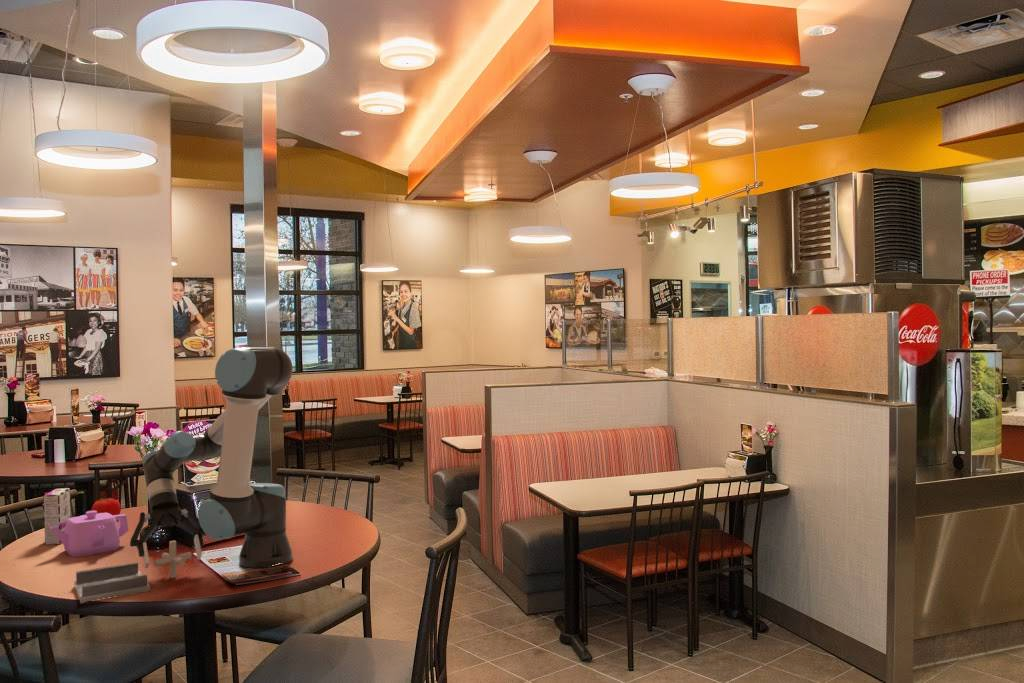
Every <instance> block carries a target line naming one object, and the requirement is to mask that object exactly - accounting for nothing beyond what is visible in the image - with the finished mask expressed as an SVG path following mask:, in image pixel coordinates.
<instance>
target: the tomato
mask: <svg viewBox="0 0 1024 683" xmlns="http://www.w3.org/2000/svg"><path fill="white" fill-rule="evenodd" d="M121 506H122V505H121V503H120V501H119V500H118V499H115V498H113V497H112V496H111V497H109V498H106V497H104V498H100V499H98V500H96V501H95V502H94V504H92V506H91V510H90V511H97V514H98V513H109V514H111V515H121V510H122V507H121Z"/></svg>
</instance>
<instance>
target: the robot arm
mask: <svg viewBox="0 0 1024 683" xmlns="http://www.w3.org/2000/svg"><path fill="white" fill-rule="evenodd" d="M293 370H294V367H293V362H292V360H291V358H290V356H289V355H288V354H287V353H286V352H285V351H284V350H283V349H281V348H279V347H275V346H266V347H263V346H259V347H258V346H256V347H254V346H252V347H251V346H250V347H248V346H247V347H245V346H242V347H237V348H231V349H228V350H226V351H225V352H224V353H222V354H221V355H220V357H219V358H218V360H217V362H216V365H215V368H214V378H215V380H216V384H217V385H218V387H219V388H220V389H222V391H221V395H222V396H223V397H224V399H225V400H226V405H225V409H224V410H223V412H222V413H221V414H220V415H219V416H218V417H217V418H216V419H215V420H214V422H212V424H211V425H210V426H209V427H208V428H207V429H206V430H205V431H204V432H203V433H201V434H194V435H192V434H191V433H190V432H186V431H183V430H177V431H175V432H173V433H172V434H170V436H169V437H168V438H167V439H166V440H165V442H164V443H163V444H162V445H161V447H160V448H159V449H155V450H152V451H150V452H148V453H146V454H145V455H144V456H143V458H142V471H143V474H144V480H145V485H146V491H147V498H148V503H149V510H150V513H145V512H142V511H141V512H140V513H139V518H138V520H139V521H138V522H137V525H136V527H135V529H134V532H133V534H132V536H131V538H130V542H129V547H136V549H137V551H138V556H139V558H143V562H144V563H143V564H144V568H145V569H149V565H150V559H149V552H148V547H147V541H148V540H149V538H150V537H151V536H152V535H153V533H154V532H155V531H157V529H158V528H159V527H160V528H165V527H173V526H176V527H178V528H181V529H182V530H183V531H185V532H187V533H188V534H189V535H191V536H192V537H193V538H194V539H193V543H194V548H195V553H196V558H197V559H196V560H201V559H202V555H203V553H202V549H201V548H203V546H204V538H203V537H205V536H208V537H209V538H210V539H213V540H215V541H216V540H217V541H220V540H225V539H232V538H233V537H236V536H239V535H243V534H245V535H244V540H243V543H242V546H241V548H240V551H239V555H238V559H239V561H238V562H239V563H238V564H239V565H240V566H241V567H244V568H248V567H250V568H251V569H260V568H259V567H266V568H270V567H269V566H272V565H275V564H278V563H285V564H287V563H290V562H291V561H292V560H293V549H292V546H291V543H290V541H289V538H288V535H287V504H286V502H287V497H286V489H285V487H284V485H282V484H278V483H269V482H251V481H250V479H251V473H252V472H251V470H252V463H253V456H254V448H255V440H256V433H257V432H256V431H257V425H258V424H257V422H258V415H259V410H261V409H262V408H263V406H265V404H266V403H267V402H269V400H270V399H271V398H272V397H276V396H278V395H279V394H280V393H281V392H282V391H283V390H284V389H285V388H286V387H287V385H288V384H289V383H290V380H291V379H292V376H293ZM217 457H219V462H218V470H217V471H218V472H217V480H216V483H215V484H213V485H212V486H211V487H210V490H209V497H208V498H209V499H205V500H204V501H202V503H201V504H199V507H198V510H197V511H198V512H197V515H196V514H195V513H194V512H193V509H192V507H191V506H187V507H186V508H184V509H181V508H180V506H179V501H178V496H177V489H176V486H175V480H174V473H175V471H177V470H178V469H179V467H180V466H181V465H182V464H183V463H189V462H194V461H198V460H204V459H205V460H206V459H209V458H210V459H211V458H217ZM250 482H251V483H250ZM182 515H183V516H184V517H185V518H187V520H188V521H187V520H186V519H184V517H183V516H182ZM148 520H150V521H151V522H152V523H151V524H150V525H149V527H148V528H147V529H146V530H145V531H144V532H143V534H142V535H141V537H140V534H141V531H142V529H143V527H144V525H145V523H146V522H148Z"/></svg>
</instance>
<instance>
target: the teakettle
mask: <svg viewBox="0 0 1024 683" xmlns="http://www.w3.org/2000/svg"><path fill="white" fill-rule="evenodd" d="M127 517H128V516H127V515H126V513H125V514H123V513H122V514H119V515H111V514H109V513H98V514H97V511H91V510H87V511H86V512H85V514H83V515H80V516H79V515H78V516H71V518H68V519H67V523H66V527H65V533H63V532H62V531H61V530H60V529H59V528H57V526H54V527H51V528H50V529H51V530H52V532H53V533H54V534H55V535H56V536H57V538H58V539H59V540H60V541H61V544H62V545H63V547H64V550H65V553H66V554H68V556H70V557H71V558H79V557H87V556H93V555H99V554H104V553H108V552H114V551H117V550H119V547H120V542H121V540H120V538H121V537H122V536H125V535H126V533H128V532H129V526H128V525H129V524H128V518H127ZM117 521H119V526H118V523H117Z"/></svg>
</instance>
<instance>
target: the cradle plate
mask: <svg viewBox="0 0 1024 683" xmlns="http://www.w3.org/2000/svg"><path fill="white" fill-rule="evenodd" d="M75 576H76V577H75V580H74V581H73V587H75V588H74V591H75V590H76V591H75V593H76V592H77V593H76V595H78V596H77V598H78V597H79V598H78V600H79V599H80V601H79V603H80V604H86V603H88V602H87V601H92V600H97V599H103V598H108V597H114V596H119V597H122V596H121V595H125V596H129V594H130V595H134V594H135V595H136V594H140V593H141V594H142V593H146V592H150V583H148V575H147V574H142V572H141V571H140V570H139V563H138V561H135V562H130V563H129V562H128V563H122V564H116V565H110V566H104V567H98V568H97V567H96V568H91V569H84V570H78V571H75ZM114 598H115V597H114ZM108 599H109V598H108ZM103 600H104V599H103ZM97 601H98V600H97ZM85 602H86V603H85ZM92 602H93V601H92Z"/></svg>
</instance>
